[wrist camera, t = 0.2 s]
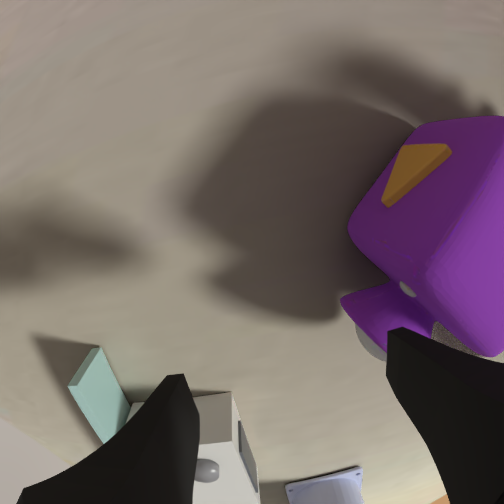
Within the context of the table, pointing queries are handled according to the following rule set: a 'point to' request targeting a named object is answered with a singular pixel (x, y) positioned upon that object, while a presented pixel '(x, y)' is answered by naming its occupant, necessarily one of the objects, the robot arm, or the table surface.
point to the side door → (99, 395)
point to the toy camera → (436, 238)
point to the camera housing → (221, 454)
